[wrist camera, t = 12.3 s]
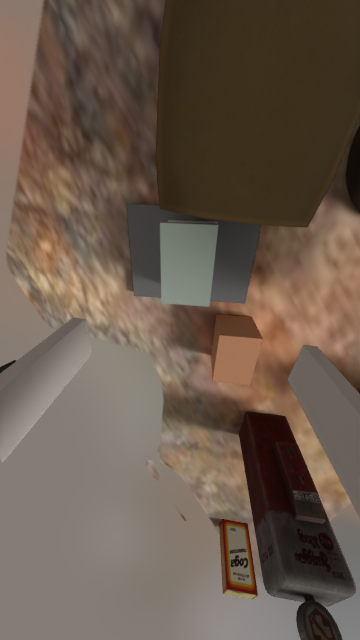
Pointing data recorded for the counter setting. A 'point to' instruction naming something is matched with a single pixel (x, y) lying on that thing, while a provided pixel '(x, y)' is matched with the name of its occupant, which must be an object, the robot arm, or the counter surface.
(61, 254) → the counter surface
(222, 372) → the terracotta brick
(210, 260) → the sage brick
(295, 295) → the counter surface
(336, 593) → the toy vending machine
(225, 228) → the base plate
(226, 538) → the baking soda box
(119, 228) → the counter surface
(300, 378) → the robot arm
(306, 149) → the wooden toy train
